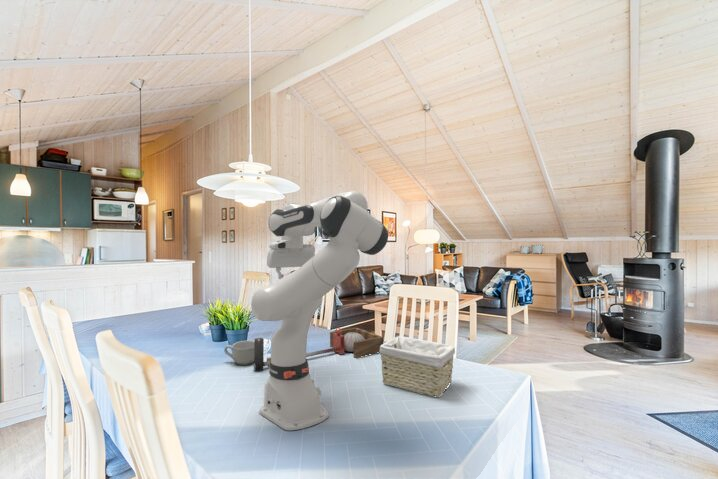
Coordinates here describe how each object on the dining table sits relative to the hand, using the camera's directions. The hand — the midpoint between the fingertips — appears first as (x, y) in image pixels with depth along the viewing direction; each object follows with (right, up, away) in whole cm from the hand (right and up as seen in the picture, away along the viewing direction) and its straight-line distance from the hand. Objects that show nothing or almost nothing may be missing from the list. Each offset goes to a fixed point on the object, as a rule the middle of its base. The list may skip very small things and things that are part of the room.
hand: (291, 278), depth 142 cm
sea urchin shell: (+24, -38, +27) cm, 52 cm away
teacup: (-23, -37, +8) cm, 45 cm away
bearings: (-3, -37, +6) cm, 38 cm away
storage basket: (+49, -38, -15) cm, 63 cm away
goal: (+26, -37, +27) cm, 53 cm away
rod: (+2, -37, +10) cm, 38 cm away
